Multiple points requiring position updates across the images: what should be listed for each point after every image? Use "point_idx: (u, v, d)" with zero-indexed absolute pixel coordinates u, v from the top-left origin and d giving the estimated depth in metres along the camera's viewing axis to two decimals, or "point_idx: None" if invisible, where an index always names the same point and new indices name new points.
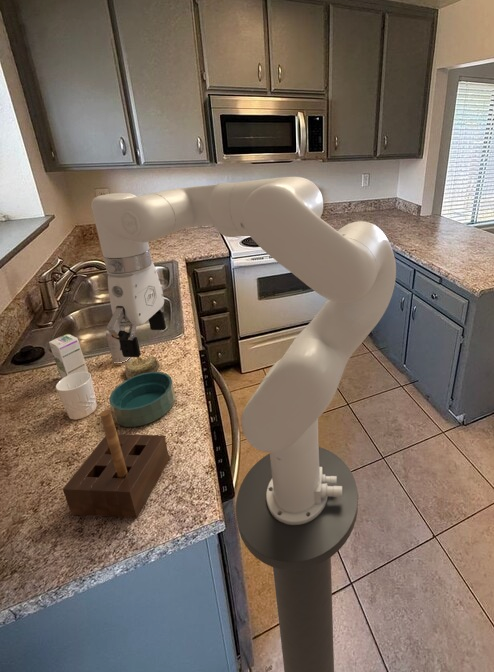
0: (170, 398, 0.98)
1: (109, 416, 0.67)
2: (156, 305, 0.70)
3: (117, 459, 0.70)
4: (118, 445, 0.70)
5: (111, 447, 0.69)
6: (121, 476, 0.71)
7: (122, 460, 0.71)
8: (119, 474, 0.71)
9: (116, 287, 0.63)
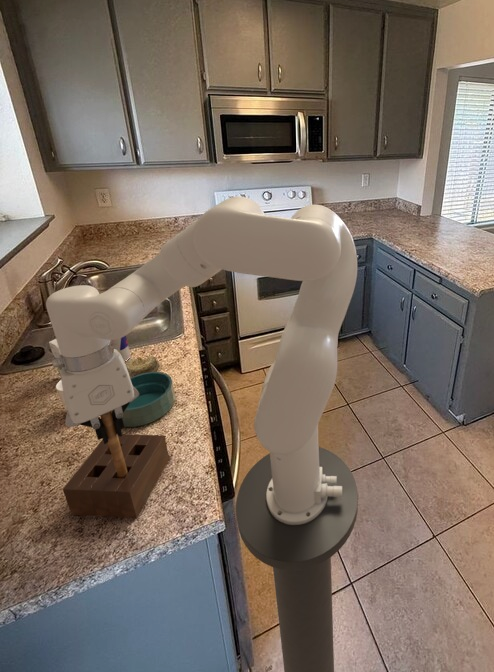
0: (170, 398, 0.98)
1: (109, 416, 0.67)
2: (113, 403, 0.65)
3: (117, 459, 0.70)
4: (118, 445, 0.70)
5: (111, 447, 0.69)
6: (121, 476, 0.71)
7: (122, 460, 0.71)
8: (119, 474, 0.71)
9: None
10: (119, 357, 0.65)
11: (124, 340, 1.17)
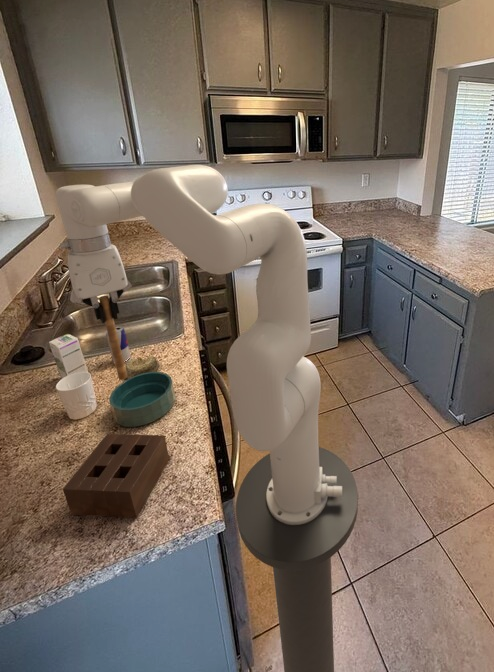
0: (170, 398, 0.98)
1: (107, 300, 0.81)
2: (110, 286, 0.79)
3: (113, 339, 0.84)
4: (114, 327, 0.83)
5: (108, 328, 0.83)
6: (116, 356, 0.85)
7: (117, 342, 0.85)
8: (114, 354, 0.85)
9: None
10: (115, 248, 0.79)
11: (124, 340, 1.17)
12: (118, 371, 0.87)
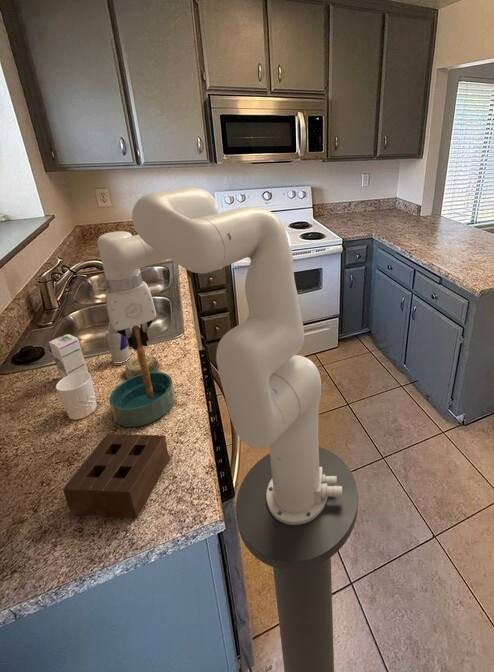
0: (170, 398, 0.98)
1: (138, 330, 0.92)
2: (142, 318, 0.90)
3: (143, 364, 0.95)
4: (144, 353, 0.95)
5: (139, 354, 0.94)
6: (145, 378, 0.96)
7: (146, 365, 0.96)
8: (144, 376, 0.96)
9: None
10: (146, 285, 0.90)
11: (124, 340, 1.17)
12: (146, 391, 0.98)
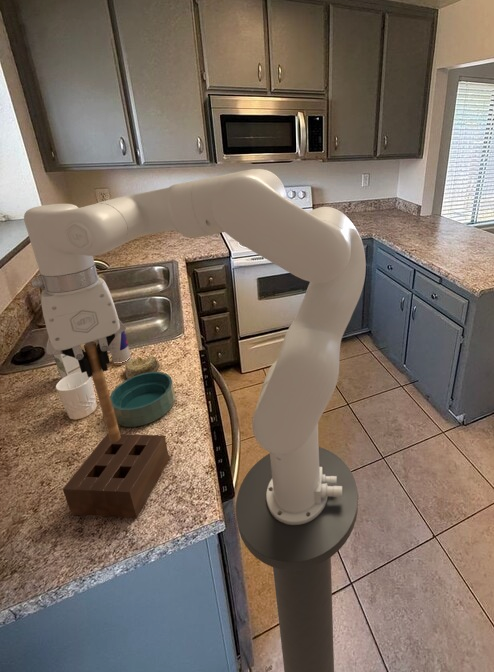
0: (170, 398, 0.98)
1: (93, 348, 0.64)
2: (97, 332, 0.62)
3: (102, 395, 0.67)
4: (103, 380, 0.67)
5: (96, 382, 0.66)
6: (107, 414, 0.68)
7: (108, 397, 0.68)
8: (104, 413, 0.68)
9: None
10: (103, 283, 0.62)
11: (124, 340, 1.17)
12: (109, 432, 0.70)
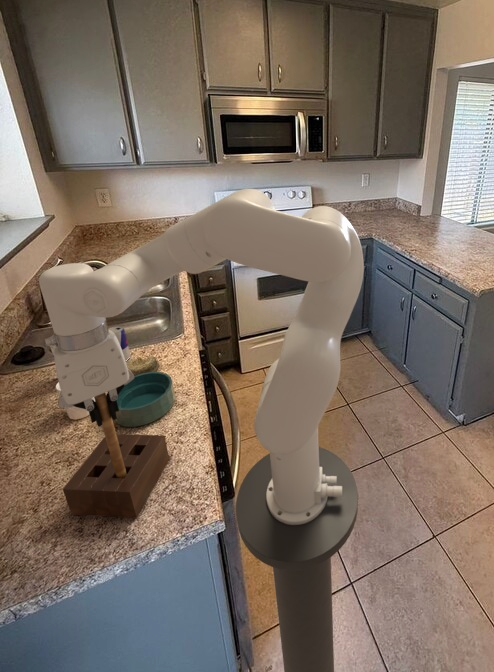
0: (170, 398, 0.98)
1: (103, 398, 0.66)
2: (108, 385, 0.64)
3: (111, 442, 0.69)
4: (113, 428, 0.68)
5: (105, 430, 0.68)
6: (115, 460, 0.70)
7: (116, 443, 0.70)
8: (113, 458, 0.70)
9: None
10: (114, 338, 0.63)
11: (124, 340, 1.17)
12: (117, 476, 0.72)
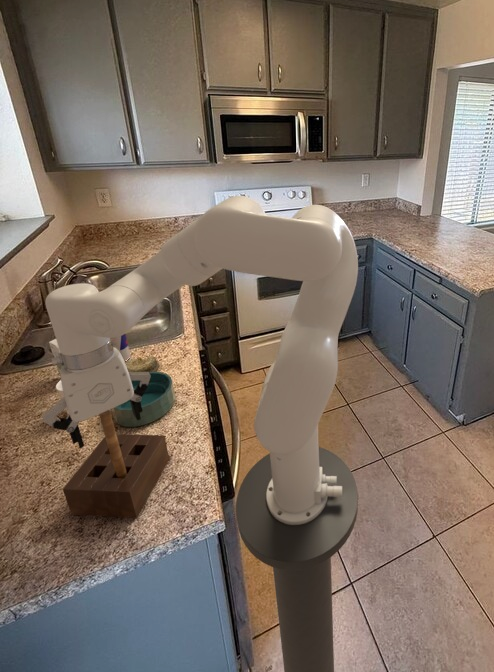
0: (170, 398, 0.98)
1: (108, 415, 0.67)
2: (113, 401, 0.65)
3: (116, 458, 0.70)
4: (117, 444, 0.70)
5: (110, 446, 0.69)
6: (120, 475, 0.72)
7: (121, 459, 0.71)
8: (118, 474, 0.71)
9: None
10: (119, 355, 0.65)
11: (124, 340, 1.17)
12: None
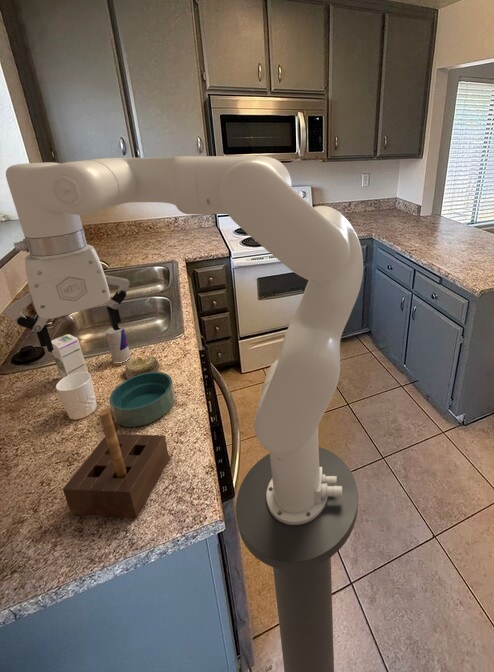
0: (170, 398, 0.98)
1: (108, 415, 0.67)
2: (86, 301, 0.58)
3: (116, 458, 0.70)
4: (117, 444, 0.70)
5: (110, 446, 0.69)
6: (120, 475, 0.72)
7: (121, 459, 0.71)
8: (118, 474, 0.71)
9: None
10: (92, 250, 0.58)
11: (124, 340, 1.17)
12: None
